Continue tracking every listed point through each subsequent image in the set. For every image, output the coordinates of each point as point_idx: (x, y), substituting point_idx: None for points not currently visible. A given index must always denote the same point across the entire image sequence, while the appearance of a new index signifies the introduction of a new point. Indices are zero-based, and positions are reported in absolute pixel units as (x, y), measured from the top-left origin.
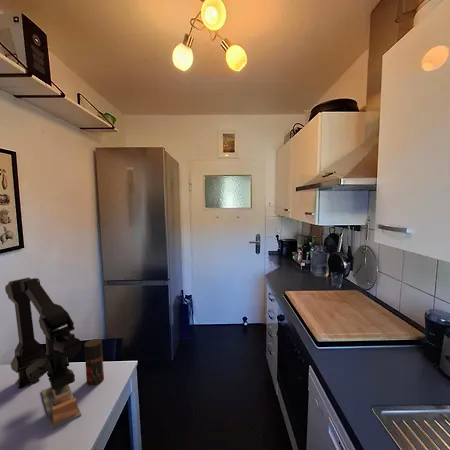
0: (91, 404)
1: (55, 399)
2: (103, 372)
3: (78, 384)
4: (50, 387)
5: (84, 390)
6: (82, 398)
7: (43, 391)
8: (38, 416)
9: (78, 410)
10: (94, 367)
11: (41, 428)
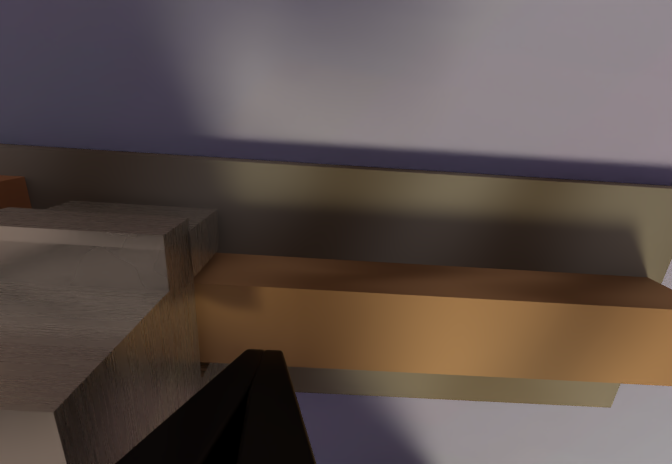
0: None
1: (31, 306)
2: None
3: (468, 446)
4: (654, 274)
5: (339, 456)
6: None
7: (654, 203)
8: (248, 74)
9: None
10: None
11: (17, 62)
